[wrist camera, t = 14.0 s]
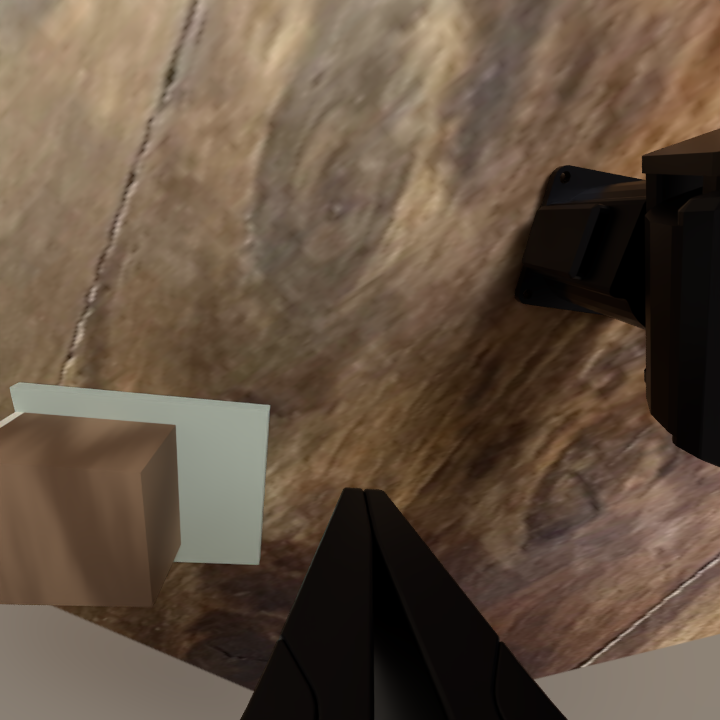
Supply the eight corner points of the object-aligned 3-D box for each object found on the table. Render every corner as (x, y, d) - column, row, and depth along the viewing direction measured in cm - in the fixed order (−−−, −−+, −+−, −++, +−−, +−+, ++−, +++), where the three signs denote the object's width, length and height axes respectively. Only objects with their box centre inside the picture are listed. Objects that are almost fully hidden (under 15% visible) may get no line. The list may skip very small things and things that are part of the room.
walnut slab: (140, 472, 16) (-62, 459, 15) (152, 607, 19) (-13, 603, 18) (175, 424, 20) (15, 411, 19) (180, 544, 23) (44, 538, 22)
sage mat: (270, 405, 21) (268, 410, 20) (260, 557, 25) (258, 564, 24) (19, 382, 19) (9, 387, 18) (54, 549, 23) (48, 557, 23)
